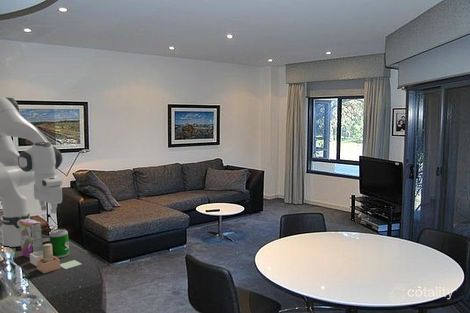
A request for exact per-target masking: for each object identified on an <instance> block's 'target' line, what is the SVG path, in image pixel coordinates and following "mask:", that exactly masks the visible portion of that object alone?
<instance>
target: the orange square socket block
mask: <svg viewBox="0 0 470 313" xmlns="http://www.w3.org/2000/svg"><path fill="white" fill-rule="evenodd" d="M60 259H61V258H56V257H55V256H53V261H50V262H47V263H44V262H43V258H42V259H38V260H37V266H36V270H38V271H39V272H41V273H43V274H47V273H51V272H54V271H57V270H60V269H61V266H60V264H61V260H60Z"/></svg>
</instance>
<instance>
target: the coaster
mask: <svg viewBox="0 0 470 313" xmlns="http://www.w3.org/2000/svg"><path fill="white" fill-rule="evenodd" d="M80 265H82V263H81V262H79V261H77V260H75V259H73V260H69V261H66V262H62V263H60V268H63V269H65V270H67V269H70V268H71V269H72V268H74V267H77V266H80Z"/></svg>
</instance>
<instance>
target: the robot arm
mask: <svg viewBox="0 0 470 313" xmlns="http://www.w3.org/2000/svg"><path fill="white" fill-rule="evenodd" d="M12 137H13V138H14V137H15V138H20V139H25V140H28V141H30V142H32V146H31V147H30V148H29V149H26V150H24V151H23V150H22V151H21V152H19V151H18V149H17V148H16V146H15V144H14V141H13V139H12ZM63 159H64V158H63V155H62V153H61V151H60V150H59V149H58V148H57V147H56V146H54V145H53V144H52V143H51V142H50V141H49V140H48V139H47V137H46V136H45V135H44V134H43V133H42V132H41V131H40V130H39V128H38V126H36V125H34V124H33V123H31V122H30V121H28V120H26V119H25V118H24V117H23V116H22V114H20V108H19V104H18V102H17V101H16V100H15V98H13V97H3V96H0V164H2V165H3V166H0V200H1V201H0V202H1V206H2V213H3V215H2V219H1V220H2V225H0V243H2V245H6V246H9V247H8V248H13V247H15V248H16V247H21V241H20V230H19V221H20V220H24V219H31V215H30V212H29V202H28V201H29V200H28V198H27V197H26V196H25V195H24V194H21V193H20V191H19V189H18V188H19V187H23V186H27V185H30V184H31V183H34V185H33V197H34V199H35V200H36V201H38V202H39V205H40V210H41V211H47V209H48V208H47V205H46V203H48V204H50V206H51V208H50V213H51V214H56V213H57V208H58V204H62V202H63V188H62V185H63V180H62V179H61V178H60V177H59V176H58V173H57V169H59V168H60V166H61V165H62V163H63Z"/></svg>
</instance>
